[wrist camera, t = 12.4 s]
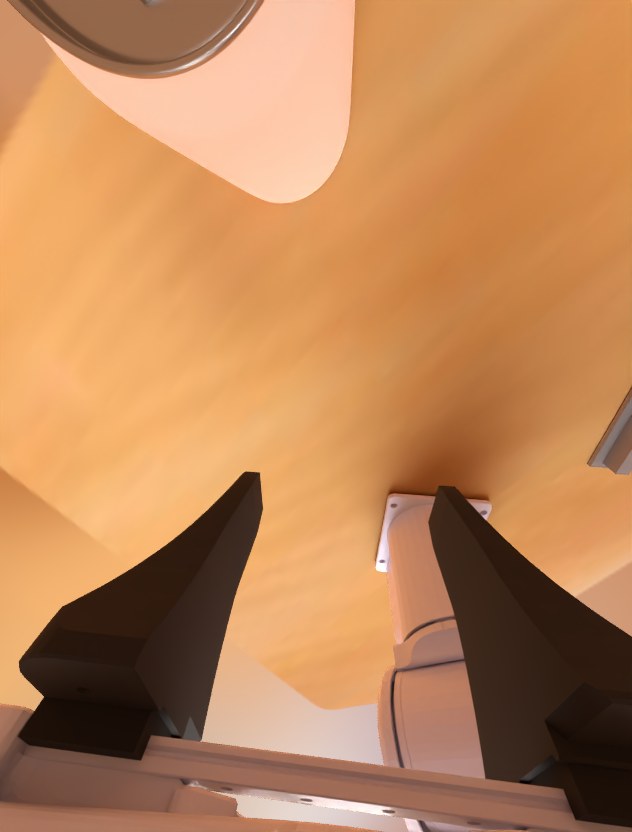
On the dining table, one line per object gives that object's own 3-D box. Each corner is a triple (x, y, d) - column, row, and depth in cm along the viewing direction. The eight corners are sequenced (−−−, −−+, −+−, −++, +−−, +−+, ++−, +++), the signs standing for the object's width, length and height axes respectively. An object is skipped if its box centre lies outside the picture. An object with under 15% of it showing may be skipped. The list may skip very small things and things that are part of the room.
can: (323, -25, 12) (148, -2243, 1) (366, 172, 15) (424, -27, 4) (184, 63, 13) (-415, -633, 3) (248, 226, 16) (69, 183, 6)
